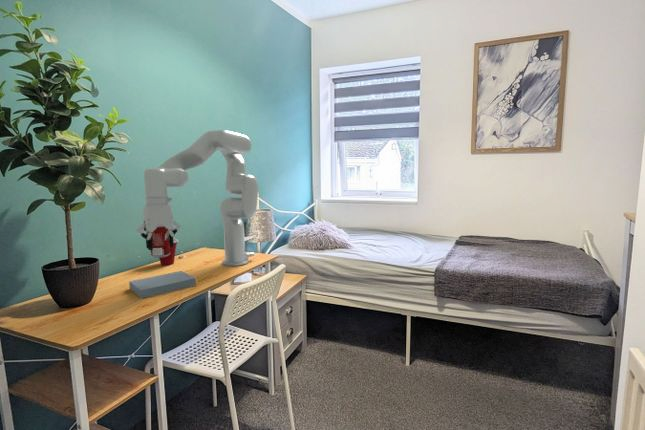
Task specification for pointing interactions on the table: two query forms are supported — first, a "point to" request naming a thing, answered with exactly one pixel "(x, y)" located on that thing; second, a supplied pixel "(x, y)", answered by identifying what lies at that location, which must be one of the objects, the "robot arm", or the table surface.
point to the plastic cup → (169, 258)
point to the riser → (162, 284)
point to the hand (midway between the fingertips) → (160, 247)
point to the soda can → (160, 242)
